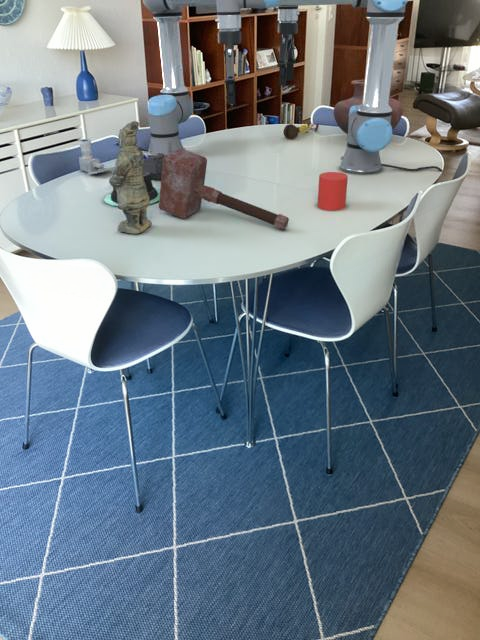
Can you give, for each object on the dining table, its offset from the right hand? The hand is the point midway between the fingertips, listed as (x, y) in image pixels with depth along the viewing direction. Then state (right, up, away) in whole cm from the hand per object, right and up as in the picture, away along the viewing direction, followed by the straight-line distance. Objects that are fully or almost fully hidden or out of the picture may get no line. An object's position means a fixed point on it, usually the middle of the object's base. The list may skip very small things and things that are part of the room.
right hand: (231, 101), depth 187 cm
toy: (-30, -21, +19) cm, 42 cm away
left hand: (+21, +20, +32) cm, 43 cm away
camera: (-53, -17, +27) cm, 62 cm away
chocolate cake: (-33, -33, 0) cm, 46 cm away
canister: (+32, -38, -11) cm, 51 cm away
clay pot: (+60, +8, +66) cm, 89 cm away
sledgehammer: (-2, -44, -21) cm, 49 cm away
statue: (-28, -48, -26) cm, 61 cm away
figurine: (+32, +14, +77) cm, 84 cm away
